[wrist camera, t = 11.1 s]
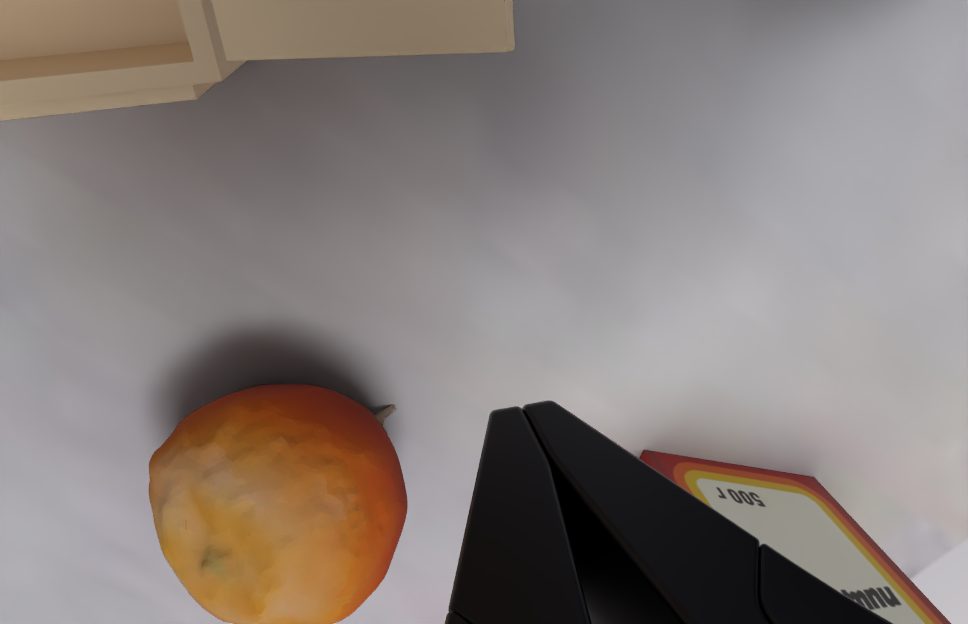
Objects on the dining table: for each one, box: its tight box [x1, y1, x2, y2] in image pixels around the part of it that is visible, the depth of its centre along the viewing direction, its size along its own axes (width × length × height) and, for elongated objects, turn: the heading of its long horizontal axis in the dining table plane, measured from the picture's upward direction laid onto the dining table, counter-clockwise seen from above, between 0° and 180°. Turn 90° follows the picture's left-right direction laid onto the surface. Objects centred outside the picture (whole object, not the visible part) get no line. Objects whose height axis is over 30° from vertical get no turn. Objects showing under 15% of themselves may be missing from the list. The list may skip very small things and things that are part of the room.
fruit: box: [149, 384, 407, 624], centre depth 21 cm, size 8×8×8 cm
